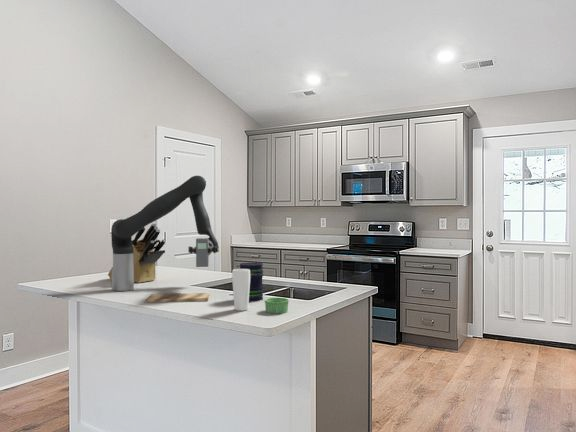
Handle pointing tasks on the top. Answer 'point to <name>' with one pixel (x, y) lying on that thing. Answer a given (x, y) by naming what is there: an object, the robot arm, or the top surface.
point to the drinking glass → (241, 288)
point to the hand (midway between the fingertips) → (202, 251)
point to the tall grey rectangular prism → (202, 252)
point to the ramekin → (276, 305)
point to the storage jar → (255, 280)
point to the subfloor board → (178, 297)
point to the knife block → (145, 254)
